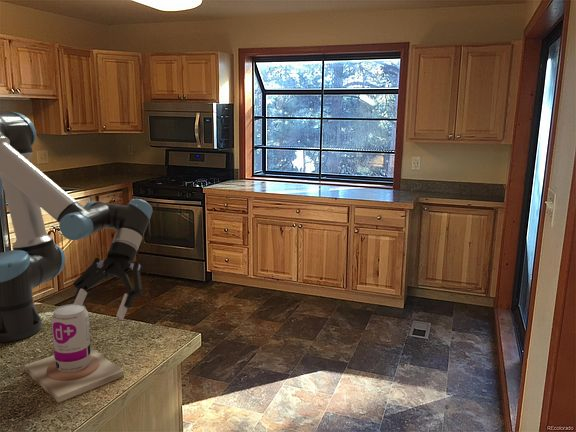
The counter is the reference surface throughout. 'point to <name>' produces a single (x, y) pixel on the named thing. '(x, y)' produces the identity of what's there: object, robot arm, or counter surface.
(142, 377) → the counter surface
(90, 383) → the mount board
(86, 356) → the supplement can
